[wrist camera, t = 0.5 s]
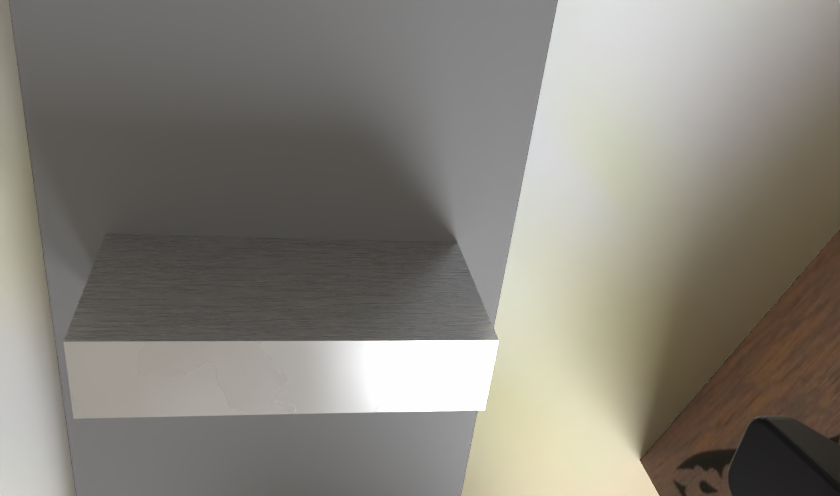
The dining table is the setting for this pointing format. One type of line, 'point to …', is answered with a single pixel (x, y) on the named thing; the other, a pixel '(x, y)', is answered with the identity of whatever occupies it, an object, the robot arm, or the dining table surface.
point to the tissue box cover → (760, 385)
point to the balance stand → (276, 233)
